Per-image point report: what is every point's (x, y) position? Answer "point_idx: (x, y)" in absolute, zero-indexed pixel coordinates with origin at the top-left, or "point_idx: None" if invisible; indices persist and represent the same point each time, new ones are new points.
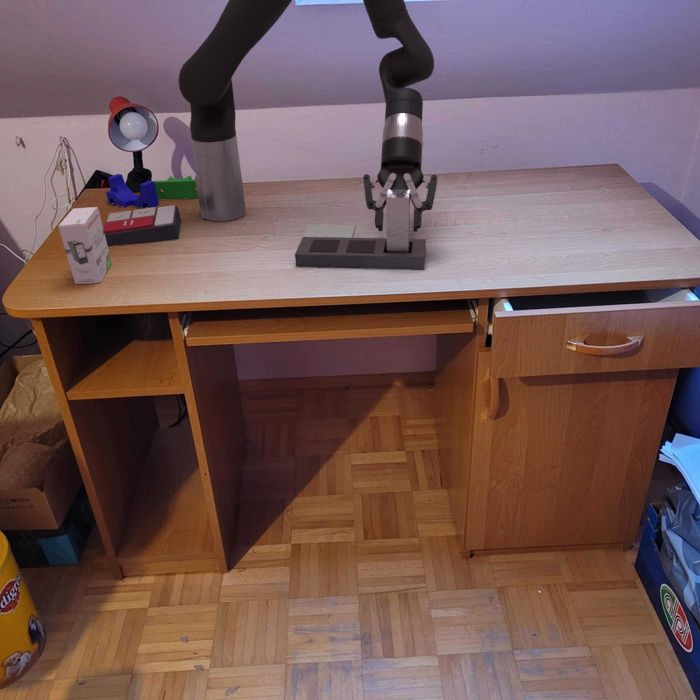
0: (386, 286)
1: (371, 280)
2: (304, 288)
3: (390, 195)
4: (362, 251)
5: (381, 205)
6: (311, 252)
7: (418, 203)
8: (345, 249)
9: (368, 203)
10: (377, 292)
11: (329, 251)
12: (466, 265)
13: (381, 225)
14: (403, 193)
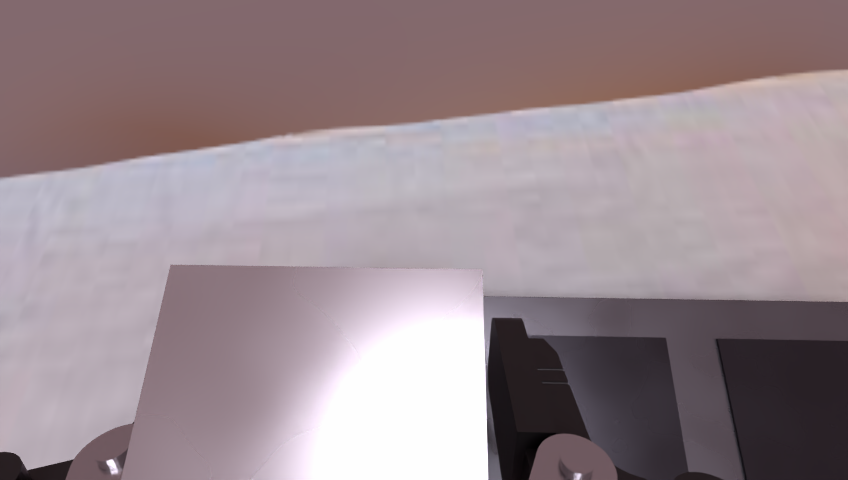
0: (434, 166)
1: (496, 207)
2: (732, 140)
3: (428, 349)
4: (577, 341)
5: (538, 455)
6: (845, 327)
7: (107, 455)
8: (676, 372)
9: (703, 475)
10: (462, 126)
11: (753, 338)
12: (95, 354)
13: (496, 318)
14: (226, 443)
